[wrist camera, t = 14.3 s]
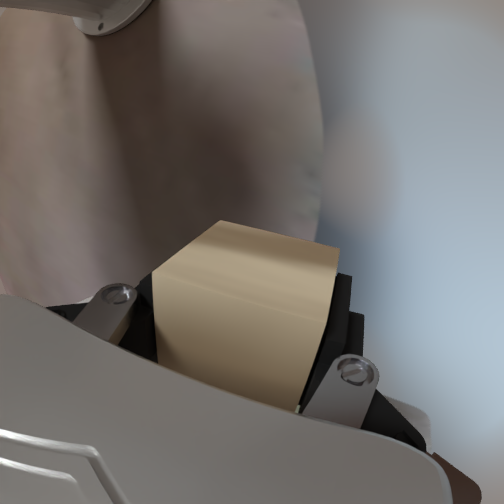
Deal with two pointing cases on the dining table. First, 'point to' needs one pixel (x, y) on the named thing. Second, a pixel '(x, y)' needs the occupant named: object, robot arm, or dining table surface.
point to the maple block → (244, 311)
